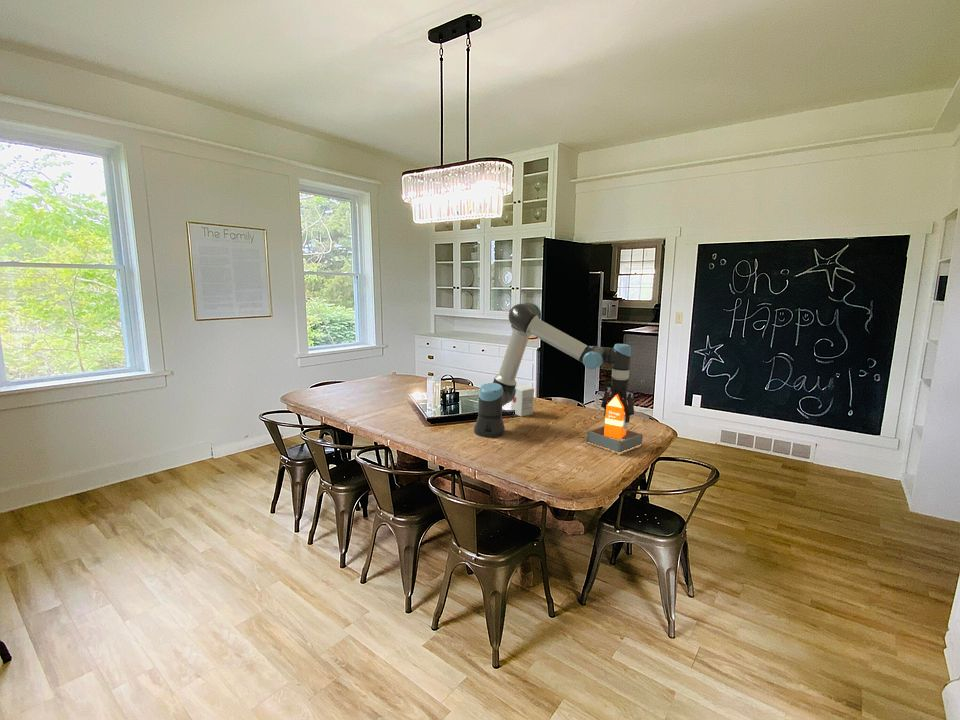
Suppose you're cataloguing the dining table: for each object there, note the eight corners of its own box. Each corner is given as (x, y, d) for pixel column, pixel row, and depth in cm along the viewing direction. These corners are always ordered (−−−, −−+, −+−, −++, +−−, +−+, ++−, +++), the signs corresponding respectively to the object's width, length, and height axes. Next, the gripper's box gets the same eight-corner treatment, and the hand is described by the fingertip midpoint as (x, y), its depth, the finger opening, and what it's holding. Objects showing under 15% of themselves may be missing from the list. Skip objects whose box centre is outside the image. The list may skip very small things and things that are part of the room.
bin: (619, 455, 199) (620, 442, 197) (586, 443, 212) (587, 430, 211) (641, 446, 210) (642, 434, 208) (609, 435, 223) (610, 424, 222)
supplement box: (510, 412, 255) (511, 386, 252) (522, 410, 260) (523, 384, 257) (521, 416, 248) (522, 390, 245) (533, 414, 253) (534, 388, 250)
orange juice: (626, 434, 211) (630, 392, 208) (620, 439, 204) (624, 396, 200) (609, 430, 216) (613, 389, 212) (603, 435, 208) (607, 393, 205)
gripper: (646, 381, 199) (641, 430, 203) (605, 372, 215) (601, 418, 219) (636, 384, 194) (631, 434, 198) (595, 374, 210) (591, 421, 215)
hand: (615, 425), depth 209 cm, fingers closed on orange juice, 9 cm apart
